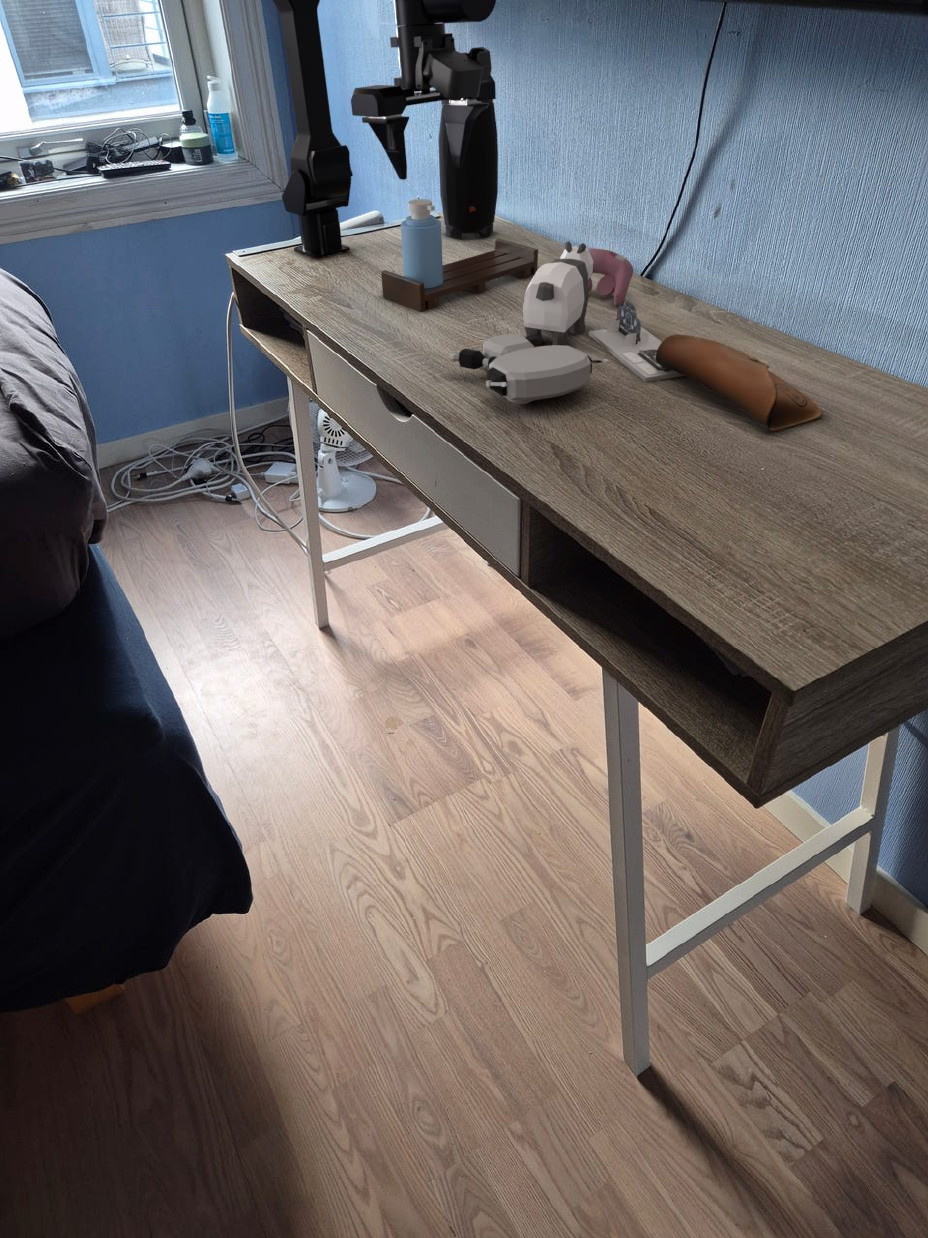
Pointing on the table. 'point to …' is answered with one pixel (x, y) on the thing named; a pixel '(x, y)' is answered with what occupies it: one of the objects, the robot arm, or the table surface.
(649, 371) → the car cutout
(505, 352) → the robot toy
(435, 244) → the bottle
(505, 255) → the rack
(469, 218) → the portable speaker
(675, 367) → the sunglasses case
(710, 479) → the table surface
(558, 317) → the giant panda
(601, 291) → the video game controller
